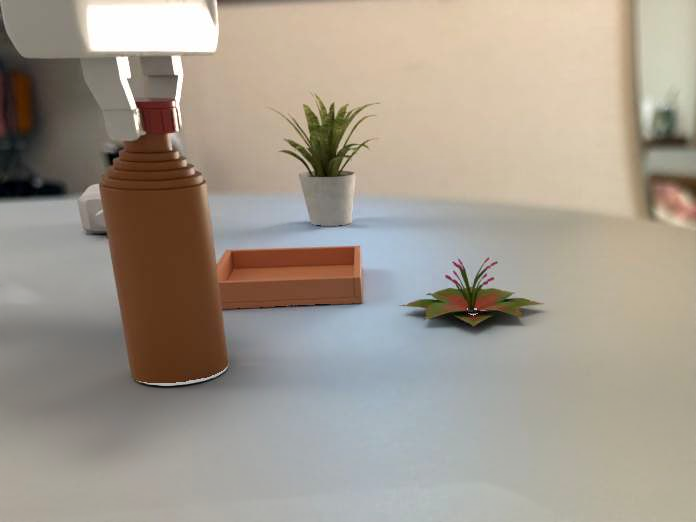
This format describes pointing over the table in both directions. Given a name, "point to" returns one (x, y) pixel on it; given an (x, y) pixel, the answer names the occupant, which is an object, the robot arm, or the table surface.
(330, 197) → the house plant
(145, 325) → the bottle
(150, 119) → the cap
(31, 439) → the table surface
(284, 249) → the tray
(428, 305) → the flowering rosette plant
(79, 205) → the white faceted rock
